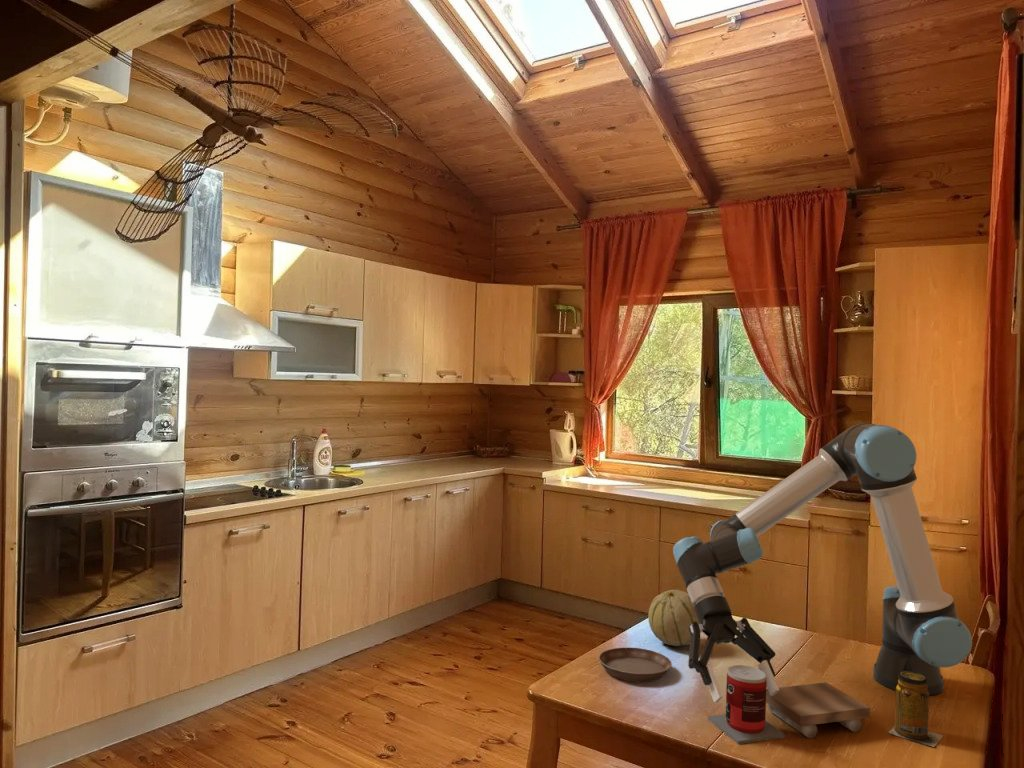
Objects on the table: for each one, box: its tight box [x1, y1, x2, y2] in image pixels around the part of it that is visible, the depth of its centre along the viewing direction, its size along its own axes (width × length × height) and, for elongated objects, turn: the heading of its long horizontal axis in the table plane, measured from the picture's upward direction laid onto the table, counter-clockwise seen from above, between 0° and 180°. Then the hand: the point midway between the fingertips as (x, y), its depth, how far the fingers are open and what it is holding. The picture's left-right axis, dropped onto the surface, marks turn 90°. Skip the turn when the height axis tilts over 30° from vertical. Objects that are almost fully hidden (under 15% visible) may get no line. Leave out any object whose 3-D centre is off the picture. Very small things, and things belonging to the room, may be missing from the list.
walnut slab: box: [766, 682, 871, 739], centre depth 157 cm, size 17×13×5 cm
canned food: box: [725, 664, 767, 733], centre depth 153 cm, size 8×8×11 cm
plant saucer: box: [598, 647, 673, 683], centre depth 182 cm, size 18×18×3 cm
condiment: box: [887, 672, 944, 748], centre depth 152 cm, size 7×8×12 cm
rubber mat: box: [707, 713, 786, 745], centre depth 153 cm, size 11×11×1 cm
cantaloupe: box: [647, 589, 701, 647], centre depth 201 cm, size 15×15×15 cm
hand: (747, 696), depth 153 cm, fingers open, 13 cm apart
